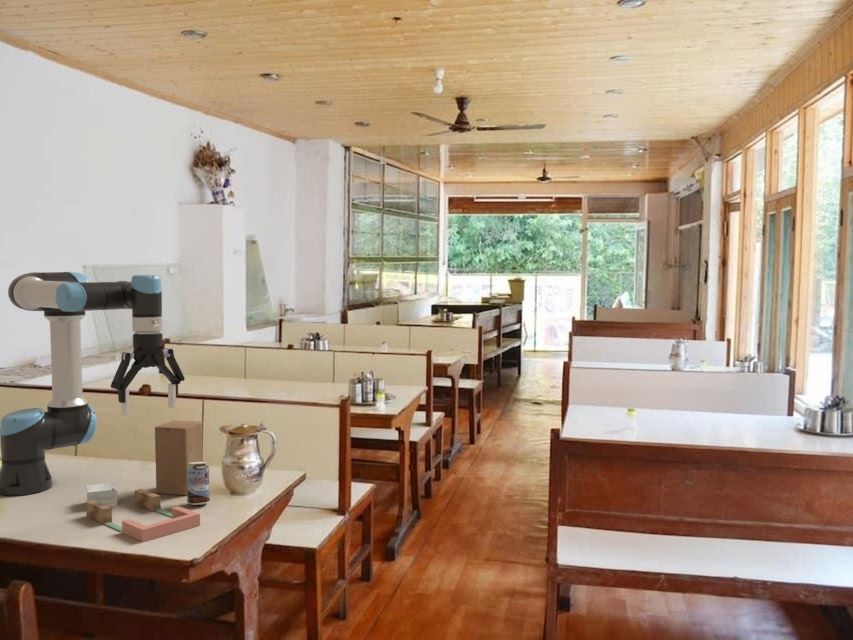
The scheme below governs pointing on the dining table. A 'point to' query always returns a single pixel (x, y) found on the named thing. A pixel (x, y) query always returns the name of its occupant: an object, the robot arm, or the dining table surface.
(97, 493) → the small box
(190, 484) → the beverage can
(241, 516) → the dining table surface
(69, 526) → the dining table surface
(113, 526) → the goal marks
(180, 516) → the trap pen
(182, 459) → the wooden block
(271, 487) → the dining table surface
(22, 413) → the robot arm
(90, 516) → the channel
